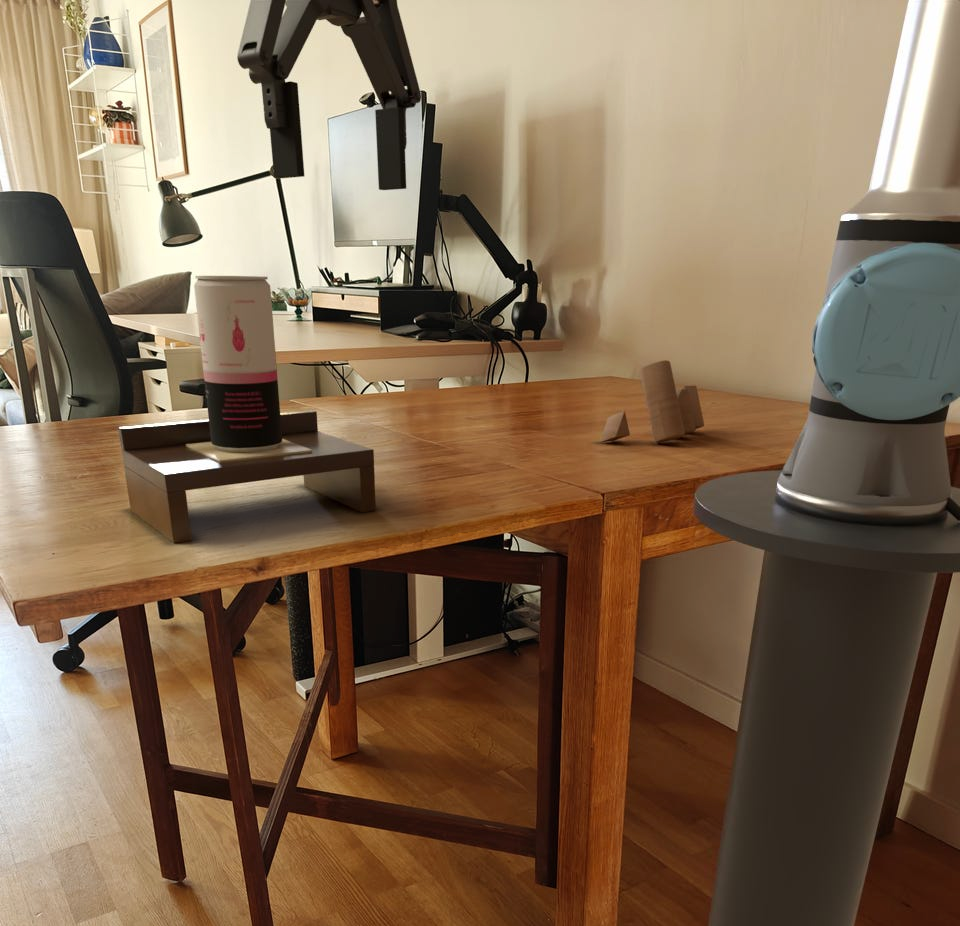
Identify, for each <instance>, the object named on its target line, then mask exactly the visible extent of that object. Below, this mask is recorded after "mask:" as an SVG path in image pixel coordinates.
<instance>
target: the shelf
mask: <svg viewBox="0 0 960 926" xmlns="http://www.w3.org/2000/svg"><path fill="white" fill-rule="evenodd" d="M280 417H281V430H282V442H281V443H280V444H279V445H278V447H277V448H275V449H272V450H267V451H261V452H246V453H238V452H226V451H221V450H218V449H217V447H215V446H214V445H213V444H212V443H211V435H210V426H209V419H200V420H187V421H176V422H175V421H174V422H165V423H153V424H142V425H132V426H131V425H129V426H118V427H117V429H118V436H119V443H120V448H121V456H122V461H123V463H122V464H123V468H124V475H125V481H126V482H125V483H126V488H127V494H128V501H129V509H130V511H131V512H132V513H133V514H134V515H136V516H138V517H139V518H140V519H142V520H143V521H144V522H145V523H147V524H148V525H149V526H150V527H152V528H153V529H155V530H156V531H157V532H159V533H160V534H161V535H163V536H164V537H165V538H167V539H168V540H169V541H170V542H172V543H173V544H175V543H176V544H177V543H183V542H188V541H192V540H193V539H192V529H191V522H190V514H189V506H188V498H187V491H191V490H200V489H207V488H216V487H223V486H231V485H237V484H247V483H254V482H261V481H268V480H276V479H284V478H285V479H286V478H292V477H299V476H303V487H304V488H307V489H310V490H312V491H313V492H316V493H318V494H320V495H322V496H324V497H327V498H329V499H331V500H334V501H335V502H338V503H340V504H341V505H342V504H343V505H345V506H346V507H349V508H351V509H353V510H355V511H358V512H360V513H366V512H373V511H376V510H377V507H376V506H377V505H376V504H377V503H376V502H377V501H376V480H375V479H376V475H375V450H374V448H371V447H367V446H365V445H362V444H357V443H355V442H353V441H349V440H346V439H343V438H340V437H337V436H335V435H331V434H328V433H326V432H322V431H319V425H318V412H317V410H313V409H312V410H303V411H302V410H301V411H291V412H280Z"/></svg>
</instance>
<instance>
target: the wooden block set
mask: <svg viewBox="0 0 960 926" xmlns="http://www.w3.org/2000/svg"><path fill="white" fill-rule="evenodd" d="M671 364H672V363H671V362H670V361H669V360H659V361H655V362H652V363H649V364H647V365H644V366H643V367H641V368H640V370H639V373H640V379H641V384H642V389H643V392H644V397H645V403H646V407H647V412H648V417H649V421H650V427H651V431H652V437H653V441H654V443H656V444H660V443H666V442H670V441H673V440H676V439H679V438H682V437H684V436H686V435H689V434H692V433H695V432H696V431H697V430H699V429H700V428H703V427H705V422H704V417H703V411H702V407H701V401H700V397H699V392H698V387H697V385H695V384H693V385H692V384H691V385H683V386H680V387H677V388H676V384H675V380H674V375H673V369H672V366H671ZM630 435H631V433H630V428H629V424H628V418H627V414H626V411H625V410H623V411H621V412H618V413H616V414H612V415H610V416H608V418H607V419H606V423H605V426H604V429H603V431H602V435H601V436H600V439H599V443H607V442H616V441H618V440H620V439H623V438H627V437H629V436H630Z"/></svg>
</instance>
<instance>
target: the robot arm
mask: <svg viewBox="0 0 960 926" xmlns="http://www.w3.org/2000/svg"><path fill="white" fill-rule="evenodd" d="M285 7H286V9H285ZM362 15H363V16H362ZM317 20H318V21H324V20H326V21H327V22H328V23H330V24H331V25H333V26H336V27H340V29H341V31H342V33H343V34H344V35H345V36H346V37H348V38H350V41H351V42H352V45H353V46H354V49H355V51H356V53H357V56H358V57H359V60H360V62H361V64H362V66H363V69H364V71H365V73H366V76H367V77H368V80H369V81H370V84H371V86H372V88H373V91H374V93H375V95H376V98H378V101H379V105H380V106H381V108H379V109H375V110H374V111H375V112H374V115H375V134H376V152H377V153H376V156H377V157H376V159H377V160H376V161H377V180H378V181H377V182H378V191H393V190H406V189H407V165H406V148H407V144H408V143H407V142H408V141H407V139H408V138H407V109H412V108H415V107H416V106H417V104H419V103H420V102H421V100H422V93H421V89H420V85H419V82H418V78H417V73H416V71H415V66H414V63H413V60H412V54H411V51H410V48H409V47H410V46H409V44H408V40H407V36H406V32H405V29H404V24H403V21H402V17H401V13H400V10H399V5H398V0H250V2H249V6H248V10H247V14H246V18H245V22H244V25H243V26H244V28H243V30H242V35H241V39H240V42H239V47H238V51H237V57H236V59H237V62H238V65H239V66H240V67H241V68H242V69H244V70H248V76H249V79H250V81H251V82H252V83H253V84H255V85H257V84H259V85H260V86H261V94H262V96H261V97H262V107H263V116H264V118H263V119H264V123H265V126H266V129H268V130H269V135H270V147H271V157H272V158H271V159H272V169H273V178H274V179H290V178H291V179H292V178H302V177H304V178H305V165H304V151H303V138H302V123H301V111H300V109H301V108H300V98H299V85H298V82H297V81H296V82H295V81H291V80H290V81H286V80H287V79H288V78H289V76H290V74H291V72H292V70H293V68H294V67H295V64H296V62H297V60H298V58H299V56H300V55H301V53H302V50H303V48H304V47H305V44H306V42H307V40H308V39H309V37H310V35H311V33H312V30H313V28H314V26H315V24H316V22H317ZM881 126H882V127H881V130H880V134H879V139H878V143H877V148H876V152H875V153H876V154H875V159H874V163H873V167H872V172H871V178H870V183H869V187H868V190H867V192H866V193H865V195H864V196H863V198H861V199H860V200H859V201H858V202H856V203H855V204H854V205H853V206H851V207H850V208H849V209H848V210H846V212H844V213H843V214H842V215H841V217H840V220H839V225H838V230H837V234H836V239H835V244H834V249H833V253H832V258H831V263H830V268H829V272H828V275H827V283H826V288H825V293H824V298H823V302H822V306H821V309H820V311H818V313H817V317H816V320H815V325H814V328H813V332H812V340H811V347H812V348H811V351H812V354H813V360H812V361H813V363H814V367H815V370H814V376H813V383H812V389H811V396H810V402H809V407H808V408H809V410H808V414H807V419H806V422H805V424H804V425H803V428H802V430H801V432H800V434H799V436H798V438H797V440H796V442H795V444H794V446H793V448H792V450H791V451H790V454H789V456H788V458H787V459H786V462H785V464H784V465H781V466H782V467H781V469H780V470H781V473H780V476H779V478H778V482H777V489H776V495H775V498H776V500H777V502H779V503H780V504H781V505H783V506H784V507H786V508H788V509H791V510H793V511H796V512H799V513H802V514H805V515H809V516H813V517H817V518H822V519H827V520H832V521H838V522H844V523H852V524H861V525H872V526H919V525H927V524H932V523H936V522H939V521H942V520H944V519H945V518H946V517H947V515H948V512H949V513H950V514H952V515H953V516H954V517H955V518H956V519H957V520H958V521H959V520H960V506H958V505H957V504H956V503H955V502H954V501H953V500H952V499H951V498H952V494H951V487H952V484H951V476H950V468H949V460H948V450H947V443H946V435H945V429H946V423H947V418H948V414H949V410H950V404H951V403H954V402H955V401H957V400H958V399H959V398H960V0H908V2H907V5H906V11H905V15H904V20H903V25H902V30H901V35H900V39H899V44H898V48H897V54H896V58H895V62H894V68H893V73H892V78H891V81H890V86H889V91H888V97H887V101H886V105H885V111H884V116H883V120H882V125H881Z"/></svg>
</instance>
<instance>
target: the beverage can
mask: <svg viewBox="0 0 960 926" xmlns="http://www.w3.org/2000/svg"><path fill="white" fill-rule="evenodd" d="M194 278H195V279H196V281H195V282H194V285H193V289H194V298H195V308H196V316H197V326H198V334H199V343H200V352H201V360H202V370H203V381H204V388H205V397H206V406H207V414H208V415H207V416H208V420H209V426H210V435H211V443H212V444H213V445H214V446H215V447H217V449H218V450H221V451H226V452H238V453H246V452H261V451H267V450H272V449H275V448H277V447H278V445H279V444H280V443H281V442H282V430H281V417H280V413H281V405H280V393H279V382H278V381H279V379H278V367H277V354H276V353H277V352H276V341H275V340H276V339H275V329H274V317H273V304H272V291H271V290H272V289H271V285H270V284H269V282H268V281H267V280H269V279H268V276H265V275H264V276H261V275H195V276H194Z"/></svg>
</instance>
